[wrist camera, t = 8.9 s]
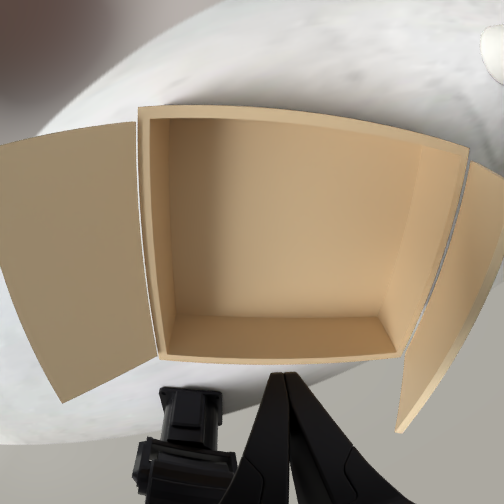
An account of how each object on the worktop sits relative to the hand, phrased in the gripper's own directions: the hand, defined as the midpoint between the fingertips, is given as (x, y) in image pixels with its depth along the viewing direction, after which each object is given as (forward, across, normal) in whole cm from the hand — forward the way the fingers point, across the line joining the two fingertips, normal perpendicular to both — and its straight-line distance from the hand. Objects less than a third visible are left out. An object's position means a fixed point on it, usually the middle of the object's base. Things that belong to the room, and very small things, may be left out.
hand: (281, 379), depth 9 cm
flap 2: (+4, -10, +1) cm, 11 cm away
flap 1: (+5, +9, 0) cm, 11 cm away
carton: (+13, -2, 0) cm, 13 cm away
